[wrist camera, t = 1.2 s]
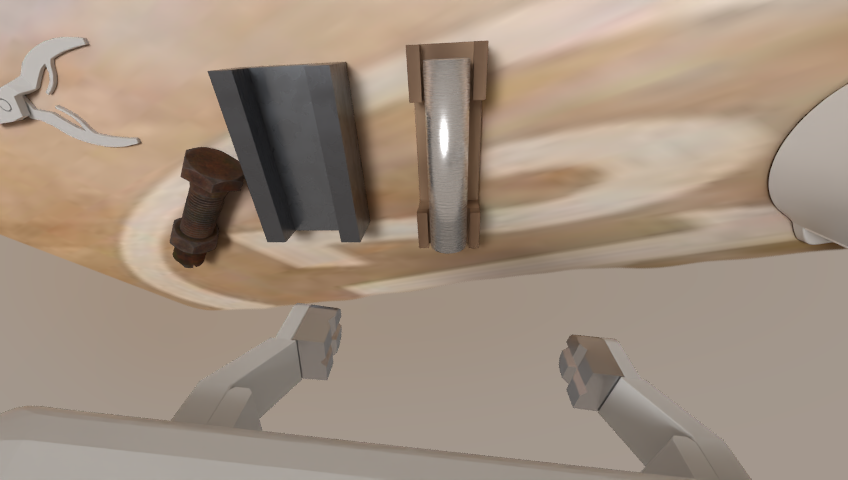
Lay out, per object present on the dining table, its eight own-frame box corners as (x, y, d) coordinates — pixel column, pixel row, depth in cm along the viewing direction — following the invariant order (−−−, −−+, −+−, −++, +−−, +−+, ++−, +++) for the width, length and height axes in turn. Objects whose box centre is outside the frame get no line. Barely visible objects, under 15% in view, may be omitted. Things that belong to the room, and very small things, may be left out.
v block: (345, 61, 29) (329, 64, 25) (370, 221, 37) (360, 242, 33) (239, 67, 30) (207, 71, 26) (286, 221, 38) (267, 242, 34)
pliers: (132, 147, 33) (8, 156, 35) (145, 143, 35) (25, 152, 36) (70, 34, 28) (-71, 51, 30) (88, 34, 30) (-48, 51, 31)
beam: (484, 40, 27) (488, 40, 24) (476, 228, 36) (478, 248, 33) (411, 45, 28) (405, 45, 24) (422, 229, 37) (419, 247, 34)
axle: (424, 59, 25) (420, 61, 22) (469, 56, 25) (471, 58, 22) (431, 234, 34) (429, 253, 31) (465, 234, 33) (466, 253, 30)
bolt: (202, 239, 43) (231, 147, 35) (223, 267, 42) (257, 178, 34) (149, 250, 38) (169, 146, 30) (171, 282, 37) (197, 182, 29)
